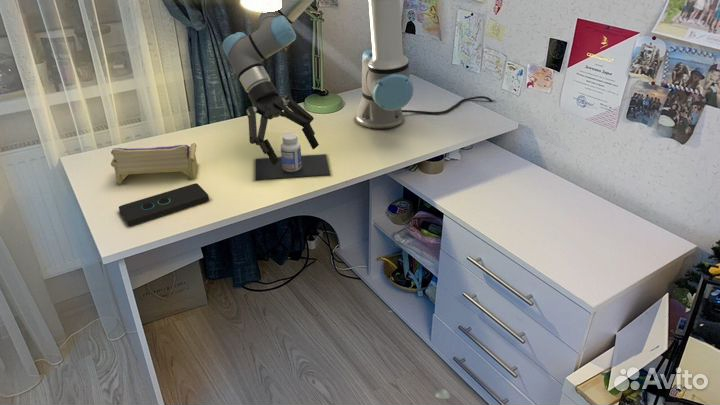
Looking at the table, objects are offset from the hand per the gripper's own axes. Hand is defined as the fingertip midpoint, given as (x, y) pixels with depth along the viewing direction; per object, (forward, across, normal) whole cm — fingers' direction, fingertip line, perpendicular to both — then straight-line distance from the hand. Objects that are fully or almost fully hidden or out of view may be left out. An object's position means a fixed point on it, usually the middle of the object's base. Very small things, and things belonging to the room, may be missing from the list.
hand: (296, 154), depth 152 cm
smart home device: (-2, +35, -10) cm, 36 cm away
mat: (+1, 0, -6) cm, 6 cm away
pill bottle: (+2, 0, -5) cm, 6 cm away
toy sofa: (-14, +28, -21) cm, 38 cm away
